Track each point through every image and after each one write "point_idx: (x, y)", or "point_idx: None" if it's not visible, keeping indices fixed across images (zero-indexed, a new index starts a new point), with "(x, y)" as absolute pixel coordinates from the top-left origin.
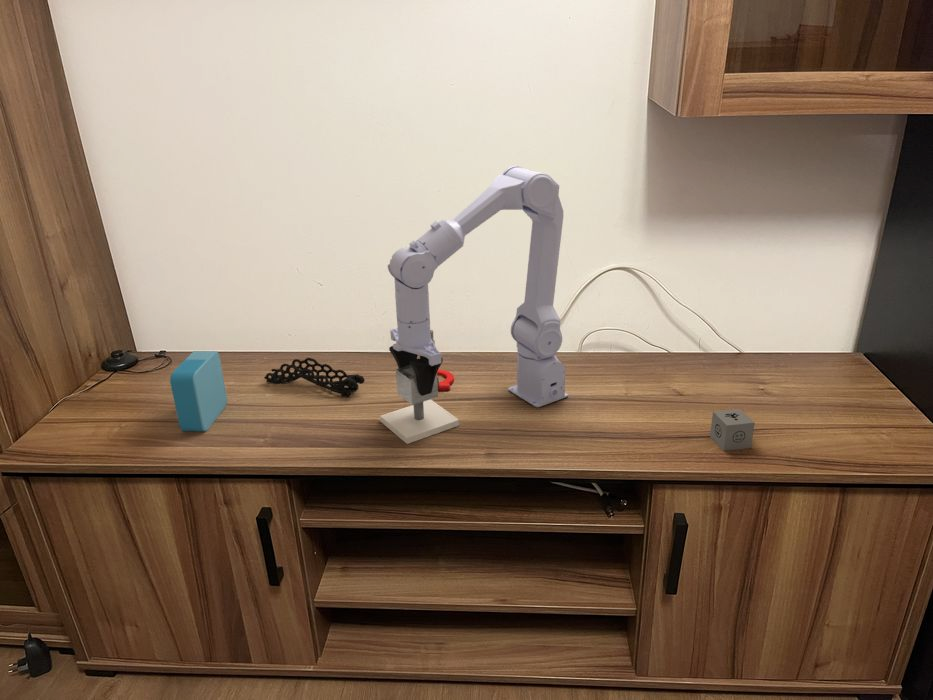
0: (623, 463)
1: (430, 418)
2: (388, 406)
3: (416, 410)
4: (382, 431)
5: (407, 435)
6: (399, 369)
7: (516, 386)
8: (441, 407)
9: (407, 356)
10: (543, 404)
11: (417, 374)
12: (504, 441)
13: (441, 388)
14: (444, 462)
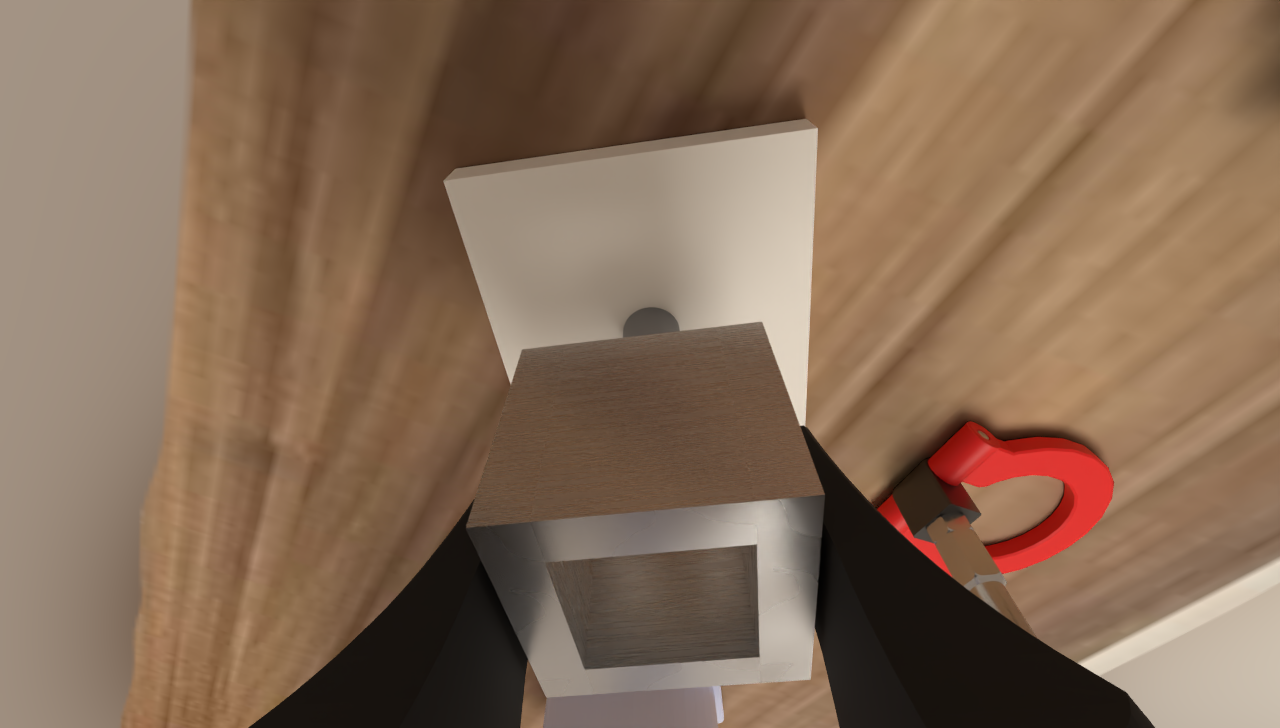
0: (158, 681)
1: None
2: (945, 236)
3: None
4: (675, 80)
5: (474, 198)
6: (792, 519)
7: None
8: None
9: (859, 709)
10: None
11: (378, 642)
12: (355, 524)
13: (886, 508)
14: (212, 275)
